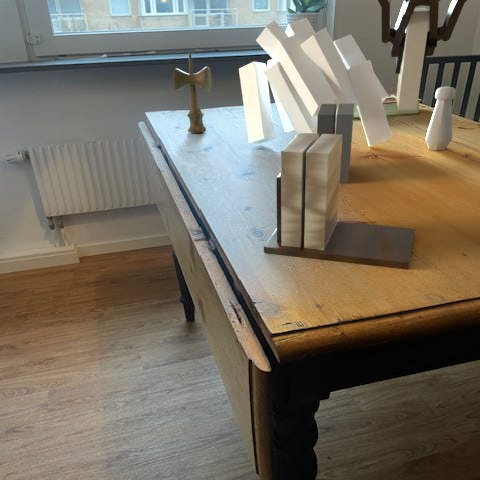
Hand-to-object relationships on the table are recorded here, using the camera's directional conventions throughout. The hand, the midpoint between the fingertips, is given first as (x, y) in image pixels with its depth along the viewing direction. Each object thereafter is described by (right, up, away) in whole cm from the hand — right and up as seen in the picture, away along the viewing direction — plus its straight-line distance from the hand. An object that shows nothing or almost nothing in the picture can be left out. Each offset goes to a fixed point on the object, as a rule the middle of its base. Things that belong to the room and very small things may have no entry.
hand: (409, 66), depth 87 cm
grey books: (-10, -14, +17) cm, 24 cm away
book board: (-14, -33, -10) cm, 37 cm away
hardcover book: (+12, +18, +63) cm, 66 cm away
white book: (-1, -7, 0) cm, 7 cm away
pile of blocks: (-11, +1, +40) cm, 42 cm away
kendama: (-42, +8, +54) cm, 69 cm away
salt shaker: (+16, -4, +29) cm, 34 cm away
